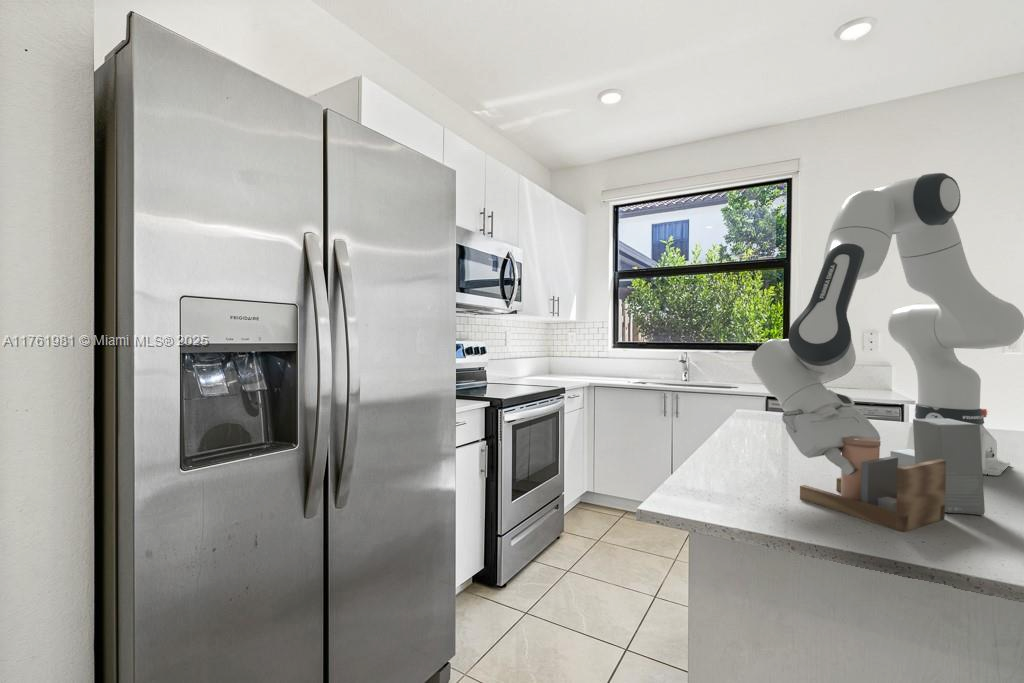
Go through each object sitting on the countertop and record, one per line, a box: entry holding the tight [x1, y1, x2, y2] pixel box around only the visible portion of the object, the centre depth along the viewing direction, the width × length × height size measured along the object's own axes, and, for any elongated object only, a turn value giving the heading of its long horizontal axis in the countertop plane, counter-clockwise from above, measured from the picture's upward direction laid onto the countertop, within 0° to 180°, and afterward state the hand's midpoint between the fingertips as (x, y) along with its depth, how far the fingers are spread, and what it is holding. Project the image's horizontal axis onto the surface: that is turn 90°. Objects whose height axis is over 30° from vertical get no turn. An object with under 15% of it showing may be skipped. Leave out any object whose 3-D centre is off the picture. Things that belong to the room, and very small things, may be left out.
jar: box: [840, 436, 881, 501], centre depth 89 cm, size 6×6×12 cm
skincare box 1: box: [889, 448, 915, 468], centre depth 99 cm, size 6×6×7 cm
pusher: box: [861, 456, 898, 512], centre depth 85 cm, size 9×3×9 cm, turn 116°
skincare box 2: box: [912, 418, 986, 516], centre depth 89 cm, size 8×7×16 cm
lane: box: [799, 459, 946, 533], centre depth 88 cm, size 13×17×10 cm
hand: (864, 470), depth 89 cm, fingers closed on jar, 6 cm apart
